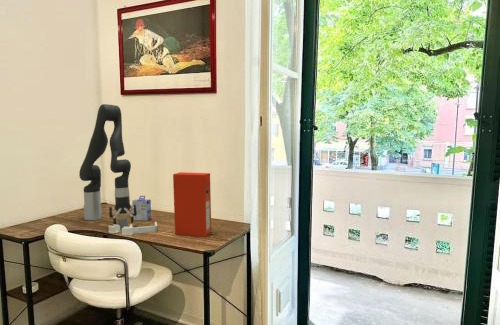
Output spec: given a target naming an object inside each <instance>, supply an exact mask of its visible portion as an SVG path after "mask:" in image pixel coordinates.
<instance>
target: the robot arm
mask: <svg viewBox="0 0 500 325" xmlns="http://www.w3.org/2000/svg"><path fill="white" fill-rule="evenodd" d="M96 114H97V116H96V118H95V119H96V121H95V124H94V128H93V133H92V136H91V138H90V141H89V144H88V148H87V151H86V153H85V157H84V159H83V162H82V164H81V166H80V167H79V168H80V169H79V176H78V177H79V179H80V180H81V181H82V182H89V183H88V184H87V185H85V186H84V187H83V200H84V202H83V215H84V216H83V218H84V221H95V220H100V219H102V201H101V200H102V199H101V187H102V173H101V168H100V166H99V165H97V164H95V162H97V160H98V159H99V158H101V156H102V155H104V153H105V152H106V149H107V146H108V144H109V148H110V157H111V158H110V166H109V168H110V170H111V172H112V173H114V174H119V173H122V174H121V175H119V176H117V177H115V178H114V200H115V204H114V206H111V205H110V206H109V209H108V210H109V212H108V213H109V215H108V216H109V219H112V223H113V224H115V225H117V216H118V215H122V214H128V215H129V216H130V224H133V223H134V221H135V220H134V216H136V215H137V211H136V205H135V204H134V205H132V204H131V202H130V199H131V198H130V189H129V176H130V172H131V168H132V165H131V161H130V160H129V159H126V158H125V159H118V158H119V157H122V156H124V155H125V154H126V152H125V146H124V145H125V144H124V140H123V122H122V121H123V120H122V118H123V117H122V110H121V107H120V106H118V105H114V104H106V103H103V104H101V105H100V106H99V107H98V111H97V113H96ZM106 122H113V126H114V127H113V131H112V133H111V135H110V138H108V135H107V133H106V131H105V125H106ZM131 208H132V210H133V209H134V214H133V211H131ZM114 210H115V213H114V215H113V211H114ZM113 224H112V225H113Z"/></svg>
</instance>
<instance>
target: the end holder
mask: <svg viewBox="0 0 500 325" xmlns="http://www.w3.org/2000/svg"><path fill="white" fill-rule="evenodd" d="M129 227H133V228H132V233H133V234H132V235H134V234H143V233H154V232H158V222H157V221H154V225H148V226H137V227H134V226H133V223H130V225H129Z"/></svg>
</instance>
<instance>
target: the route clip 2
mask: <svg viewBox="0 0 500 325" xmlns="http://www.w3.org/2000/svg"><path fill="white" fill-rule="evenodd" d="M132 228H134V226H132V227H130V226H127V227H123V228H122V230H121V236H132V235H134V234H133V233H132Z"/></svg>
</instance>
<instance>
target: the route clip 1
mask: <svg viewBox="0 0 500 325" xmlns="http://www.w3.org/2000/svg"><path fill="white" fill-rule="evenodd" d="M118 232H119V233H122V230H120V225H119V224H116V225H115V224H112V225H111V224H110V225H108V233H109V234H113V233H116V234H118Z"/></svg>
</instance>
